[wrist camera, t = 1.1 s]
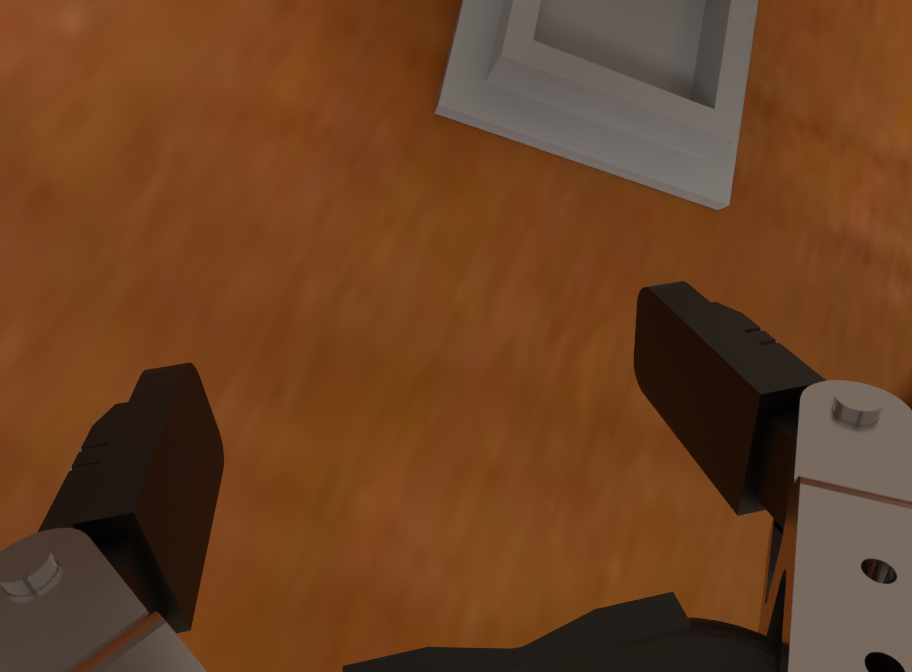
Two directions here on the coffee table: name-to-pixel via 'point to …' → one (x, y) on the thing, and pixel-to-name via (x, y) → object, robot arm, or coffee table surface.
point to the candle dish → (610, 84)
